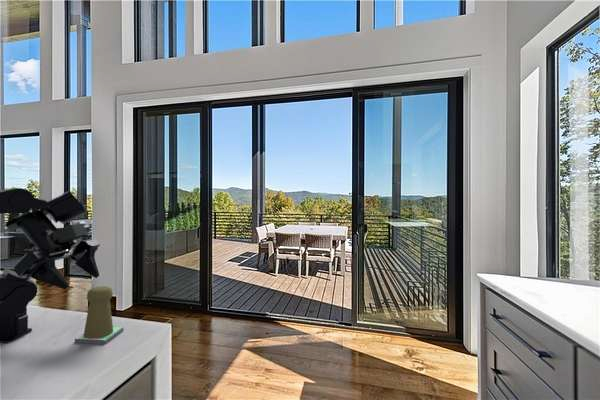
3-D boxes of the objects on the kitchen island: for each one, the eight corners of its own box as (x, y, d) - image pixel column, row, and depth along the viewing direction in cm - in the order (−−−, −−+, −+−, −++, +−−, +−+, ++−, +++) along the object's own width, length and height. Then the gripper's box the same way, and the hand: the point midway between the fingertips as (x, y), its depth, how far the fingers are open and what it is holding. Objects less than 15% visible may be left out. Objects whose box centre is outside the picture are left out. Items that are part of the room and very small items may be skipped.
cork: (99, 340, 72) (101, 292, 72) (76, 337, 73) (78, 289, 73) (119, 329, 78) (120, 285, 78) (98, 326, 79) (99, 282, 79)
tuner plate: (74, 342, 72) (74, 338, 72) (95, 329, 79) (95, 325, 79) (105, 344, 72) (105, 340, 72) (123, 330, 79) (123, 327, 79)
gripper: (26, 214, 67) (73, 270, 66) (94, 208, 85) (131, 252, 84) (-7, 248, 68) (38, 304, 67) (67, 236, 86) (103, 279, 85)
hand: (83, 282), depth 76 cm, fingers open, 9 cm apart
